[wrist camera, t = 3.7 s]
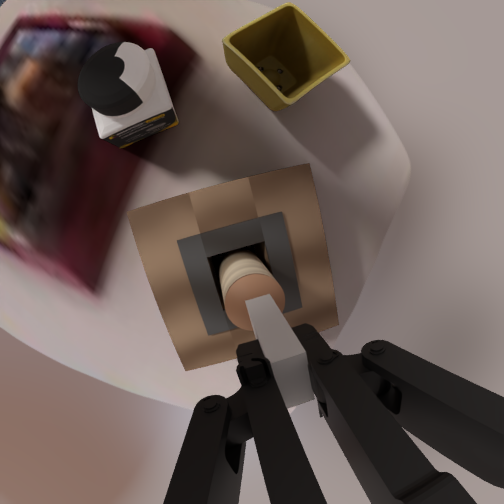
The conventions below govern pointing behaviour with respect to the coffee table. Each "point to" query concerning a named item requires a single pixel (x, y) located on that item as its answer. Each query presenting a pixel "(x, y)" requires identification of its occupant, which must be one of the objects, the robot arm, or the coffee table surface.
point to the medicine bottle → (126, 93)
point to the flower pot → (282, 55)
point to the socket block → (230, 238)
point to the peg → (246, 285)
